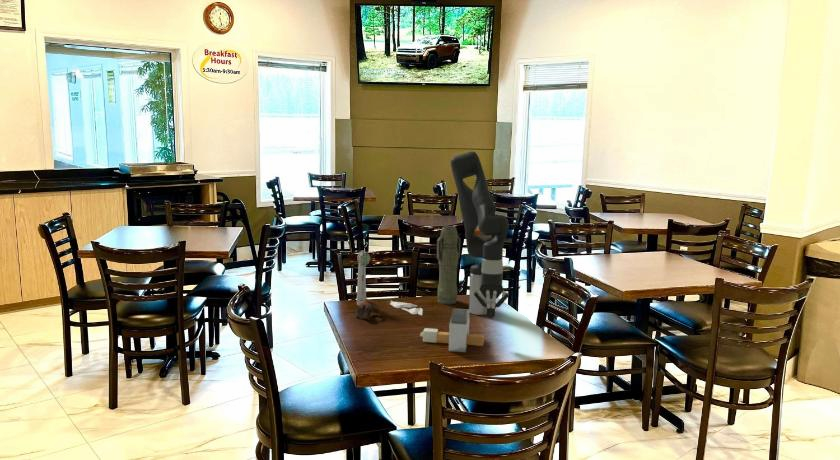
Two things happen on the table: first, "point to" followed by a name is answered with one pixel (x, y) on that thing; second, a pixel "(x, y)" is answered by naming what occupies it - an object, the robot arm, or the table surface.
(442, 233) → the thermos
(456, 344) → the block
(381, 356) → the table surface
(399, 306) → the cloth
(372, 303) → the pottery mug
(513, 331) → the table surface
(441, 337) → the wooden handle
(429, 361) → the table surface
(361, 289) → the grey knobbed rod
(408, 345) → the table surface
